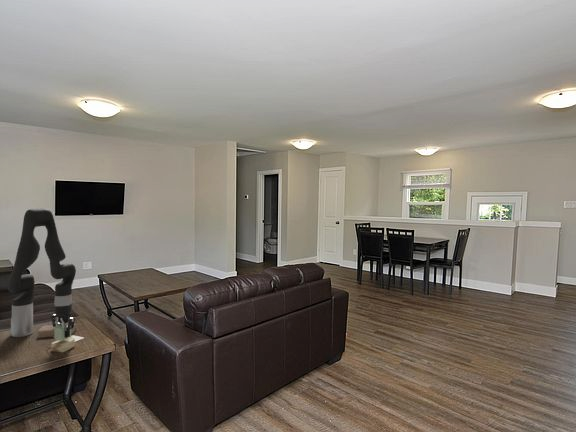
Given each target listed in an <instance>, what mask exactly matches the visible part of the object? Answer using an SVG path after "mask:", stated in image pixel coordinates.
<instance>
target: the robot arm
mask: <svg viewBox="0 0 576 432" xmlns="http://www.w3.org/2000/svg"><path fill="white" fill-rule="evenodd" d="M38 227H45V229H46V231H47V234H46V239H45V242H44V250H45V253H46V256H47V258H48V260H49V270H50V272H49V273H50V275H51V277H52V278H53V279H54V280H61V279H62V280H61V281H60V282H58V283H56V284H55V285H54V286H55V287H54V302H53V304H54V306H53V307H54V309H53V311H54V312H53V313H54V314H51V316H50V317H51V325H53V327H58V326H60V325H63V327H64V329H65V338H67V337H69V336H70V329H73V328H74V323H75V322H76V317H72V315H71V313H72V311H73V295H72V294H73V293H72V292H73V291H72V287H73V283H74V281H75V280H74V279H75V278H76V277H75V276H76V272H77V270H76V267H75V265H74V264H73V263H70V262H69V263H62V264H61V262H63V261H64V260H65V259H66V258H67V257H66V252H64V249H63V247H62V244H61V241H60V238H59V235H58V230H57V227H56V222H55V217H54V215H53V212H52V211H51V210H50V208H43V207H42V208H31V209H28V210H26V211H25V213H24V217H23V223H22V230H21V231H22V232H21V236H20V240H19V244H18V247H17V252H16V256H15V260H14V265H13V268H12V271H11V272H10V275H9V278H8V281H7V289H8V292H9V293H11V294H18V293H21V294H20V295H18V296H16V297H14V298H13V299H12V300H11V317H10V335H11V337H12V338H23V337H28V336H30V335H31V334H33V333H34V297H35V285H36V284H35V277H34V276H33V274H31V273H28V274H27V273H26V274H24V273H25V271H26V270H28V268H29V267H31V266H32V265H33V264H34V263H35V262H36V261H37V259H38V257H39V255H40V251H41V246H40V245H41V244H40V243H39V241H38V240H37V238H36V237H35V228H38ZM67 325H68V327H67Z"/></svg>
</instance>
